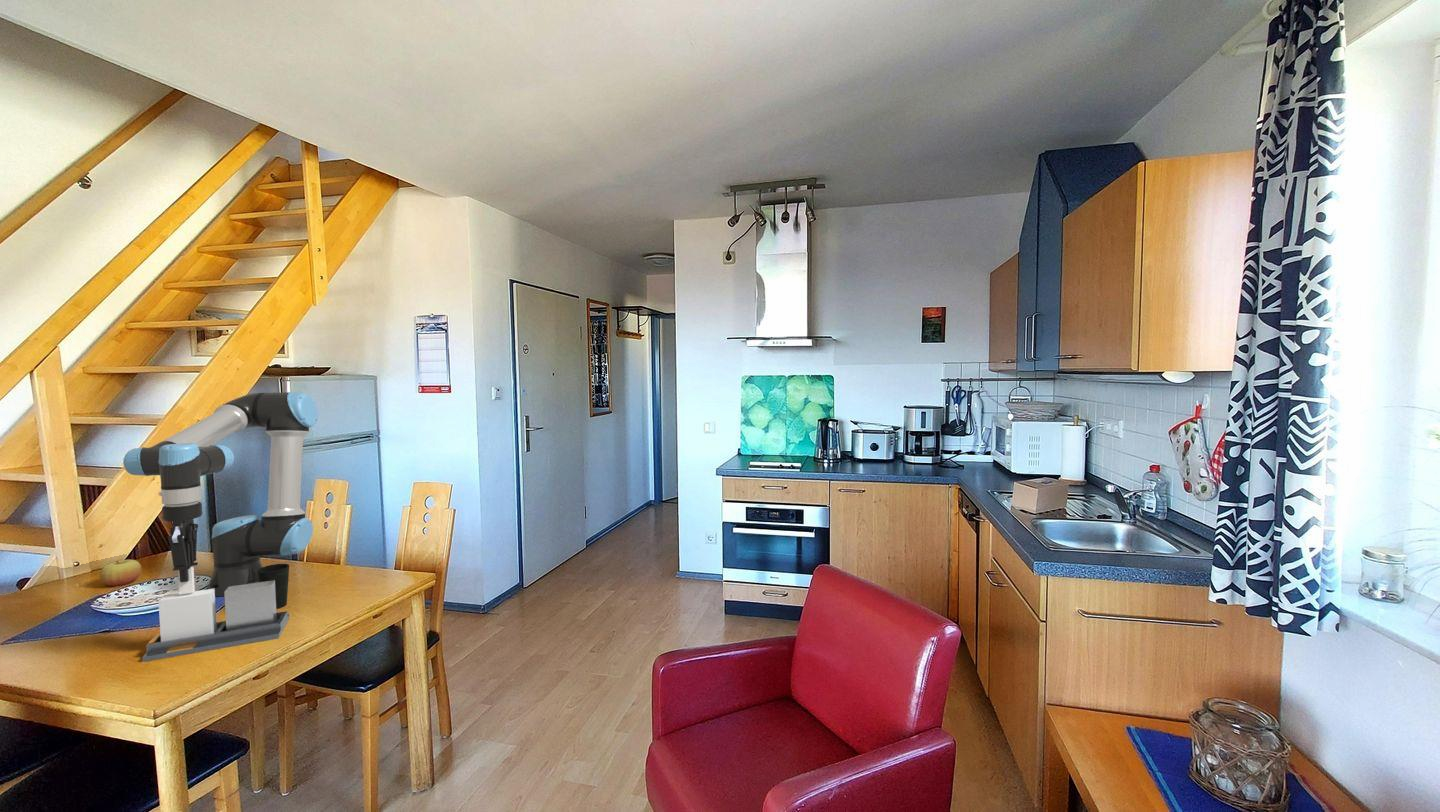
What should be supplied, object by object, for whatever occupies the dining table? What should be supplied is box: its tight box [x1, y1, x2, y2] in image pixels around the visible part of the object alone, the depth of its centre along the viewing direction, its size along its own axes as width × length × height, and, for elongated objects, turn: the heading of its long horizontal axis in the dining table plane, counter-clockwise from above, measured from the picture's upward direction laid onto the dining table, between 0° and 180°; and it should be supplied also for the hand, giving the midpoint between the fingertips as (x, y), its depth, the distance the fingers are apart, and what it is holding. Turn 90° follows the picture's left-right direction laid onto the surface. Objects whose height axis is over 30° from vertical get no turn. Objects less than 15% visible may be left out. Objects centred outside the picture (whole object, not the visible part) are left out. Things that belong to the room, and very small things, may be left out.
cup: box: [257, 563, 290, 610], centre depth 173 cm, size 8×8×12 cm
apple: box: [99, 559, 142, 587], centre depth 191 cm, size 10×10×8 cm
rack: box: [141, 580, 290, 663], centre depth 152 cm, size 14×27×13 cm, turn 118°
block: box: [158, 588, 217, 642], centre depth 149 cm, size 4×10×12 cm, turn 118°
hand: (186, 592), depth 149 cm, fingers closed
